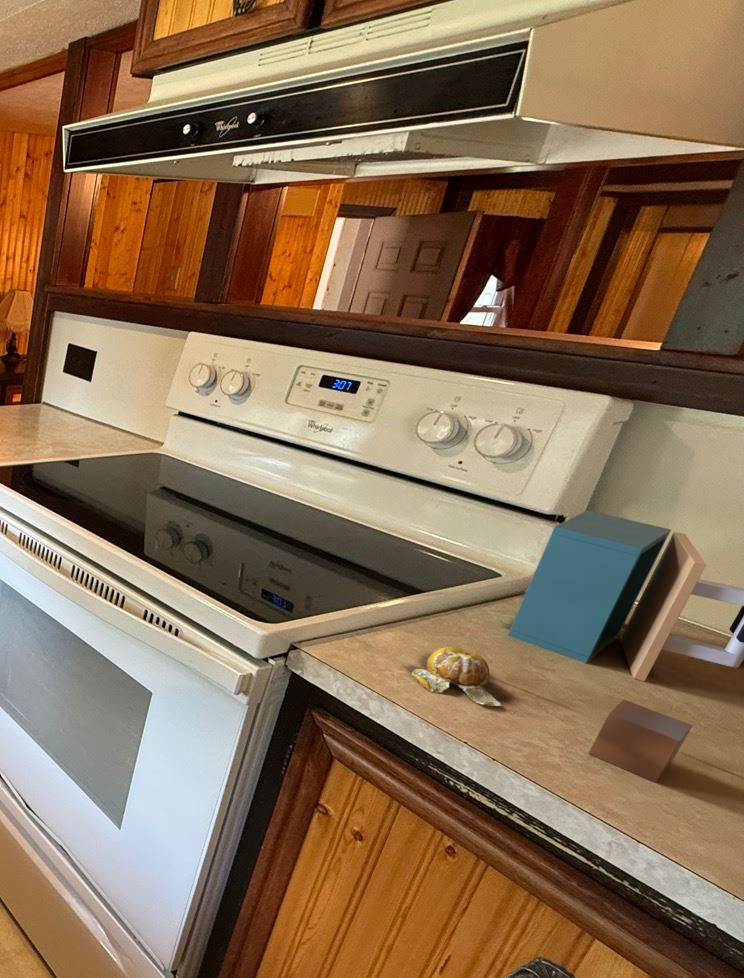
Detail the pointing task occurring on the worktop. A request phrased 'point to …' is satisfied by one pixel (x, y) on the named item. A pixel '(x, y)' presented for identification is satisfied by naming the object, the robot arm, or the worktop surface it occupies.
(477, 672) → the fruit
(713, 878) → the worktop surface
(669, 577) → the tan rectangular box
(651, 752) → the block
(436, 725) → the worktop surface
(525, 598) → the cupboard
